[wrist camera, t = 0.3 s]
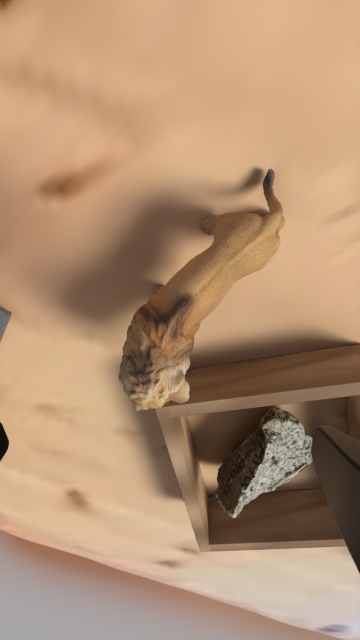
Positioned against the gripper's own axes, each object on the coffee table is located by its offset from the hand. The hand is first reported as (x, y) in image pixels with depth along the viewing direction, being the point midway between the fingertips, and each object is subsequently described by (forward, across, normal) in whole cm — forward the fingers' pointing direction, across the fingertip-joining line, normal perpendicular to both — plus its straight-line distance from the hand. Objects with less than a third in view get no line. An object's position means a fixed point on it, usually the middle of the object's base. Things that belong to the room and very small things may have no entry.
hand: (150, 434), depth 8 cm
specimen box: (+14, +7, -14) cm, 21 cm away
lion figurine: (+14, +2, +1) cm, 14 cm away
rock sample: (+14, +8, -14) cm, 22 cm away
